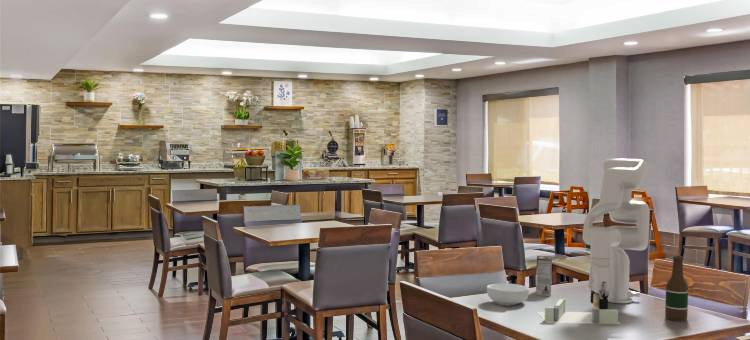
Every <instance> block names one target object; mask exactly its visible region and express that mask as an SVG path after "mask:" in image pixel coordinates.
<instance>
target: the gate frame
mask: <svg viewBox="0 0 750 340" xmlns="http://www.w3.org/2000/svg"><path fill="white" fill-rule="evenodd" d="M536 314H538V315H539V316H540V318H542V319H543V320H544V321H545V322H546V323H547V324H587V325H588V324H592V325H593V324H597V325H598V324H599V325H603V324H604V325H608V324H609V325H621V324H622V323H621V322H620V321H619V309H609V308H608V309H593V308H592V311H591V312H590V311H565V312H564V313H563V314H562V316H561V317H560V318H559V319H558V316H559V308H558V307H555V306H553V307H551V306H549V307H544V311H536Z"/></svg>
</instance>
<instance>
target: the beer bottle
mask: <svg viewBox="0 0 750 340" xmlns="http://www.w3.org/2000/svg"><path fill="white" fill-rule="evenodd" d="M672 259H673V263H672V271H671V275H670V278H669V279H668V280H667V283H666V285H665V286H666V288H665V313H664V315H665V318H666V319H668V320H669V321H674V322H684V321H686V320H688V311H689V310H688V307H689V285H688V283H687V281H686V279H685V277H684V266H683V263H684V262H683V260H684V257H683V256H681V255H673V257H672Z"/></svg>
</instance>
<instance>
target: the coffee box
mask: <svg viewBox="0 0 750 340" xmlns="http://www.w3.org/2000/svg"><path fill="white" fill-rule="evenodd" d="M552 263H553V259H552V255H549V256H548V255H536V271H535V273H536V274H535V275H536V276H535V278H536V279H535V286H536V287H535V293H536V296H543V297H545V296H546V297H552V293H551V292H552V274H553V273H552V271H553V268H552V267H553V265H552Z"/></svg>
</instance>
